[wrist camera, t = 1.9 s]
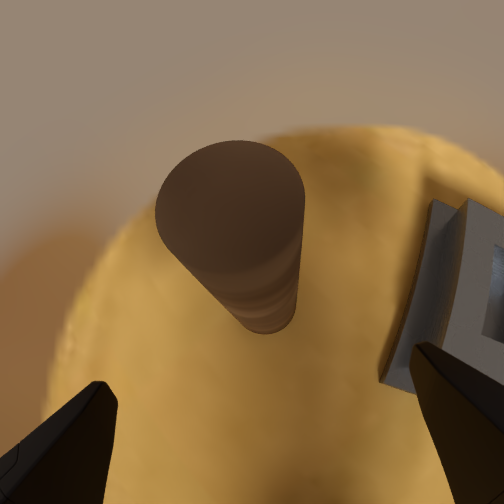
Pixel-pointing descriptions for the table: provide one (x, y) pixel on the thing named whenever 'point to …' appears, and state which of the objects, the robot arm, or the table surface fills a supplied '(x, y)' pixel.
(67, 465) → the robot arm
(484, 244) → the socket
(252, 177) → the peg
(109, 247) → the table surface
